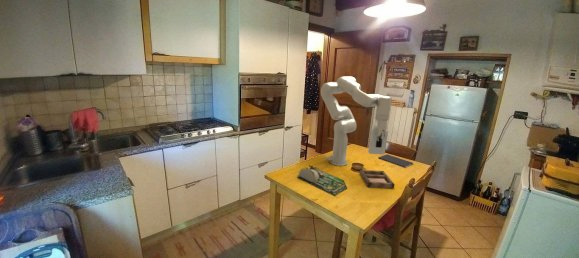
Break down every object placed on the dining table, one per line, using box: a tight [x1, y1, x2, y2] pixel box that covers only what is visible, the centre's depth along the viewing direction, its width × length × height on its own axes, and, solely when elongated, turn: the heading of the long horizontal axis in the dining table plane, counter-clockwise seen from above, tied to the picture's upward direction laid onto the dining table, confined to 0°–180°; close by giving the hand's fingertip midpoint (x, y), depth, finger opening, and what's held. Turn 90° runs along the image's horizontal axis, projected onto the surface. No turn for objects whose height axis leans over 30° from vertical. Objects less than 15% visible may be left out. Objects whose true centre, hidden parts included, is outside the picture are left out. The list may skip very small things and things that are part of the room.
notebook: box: [377, 153, 414, 169], centre depth 182 cm, size 13×2×21 cm
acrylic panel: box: [368, 128, 389, 156], centre depth 146 cm, size 9×3×15 cm, turn 89°
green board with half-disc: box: [296, 164, 348, 197], centre depth 146 cm, size 33×8×20 cm
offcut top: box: [368, 178, 387, 183], centre depth 144 cm, size 10×7×2 cm
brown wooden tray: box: [359, 169, 396, 189], centre depth 147 cm, size 15×18×4 cm
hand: (377, 145), depth 147 cm, fingers closed on acrylic panel, 3 cm apart
